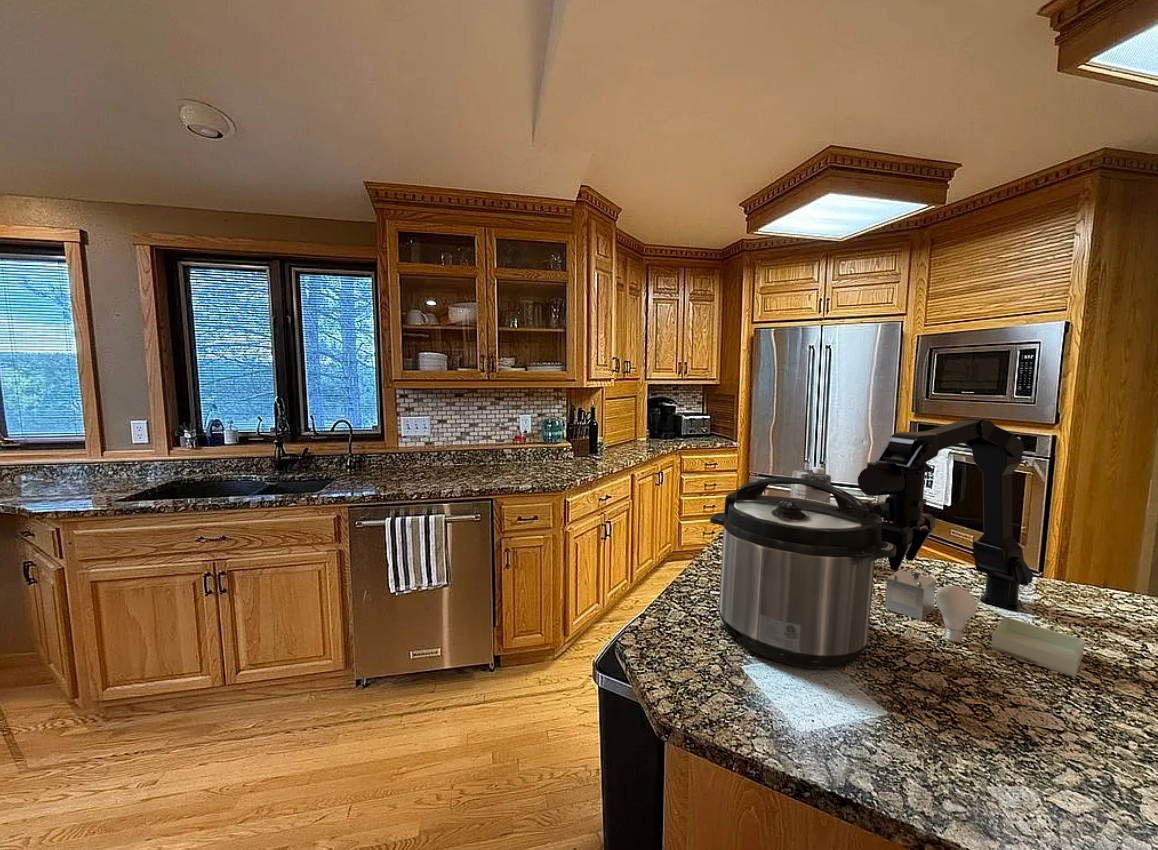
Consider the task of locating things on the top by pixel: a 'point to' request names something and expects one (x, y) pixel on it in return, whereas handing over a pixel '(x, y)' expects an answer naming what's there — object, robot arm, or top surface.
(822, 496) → the juice carton
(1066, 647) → the tray
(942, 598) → the lightbulb
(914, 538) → the robot arm
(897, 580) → the block
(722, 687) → the top surface
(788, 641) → the pressure cooker
